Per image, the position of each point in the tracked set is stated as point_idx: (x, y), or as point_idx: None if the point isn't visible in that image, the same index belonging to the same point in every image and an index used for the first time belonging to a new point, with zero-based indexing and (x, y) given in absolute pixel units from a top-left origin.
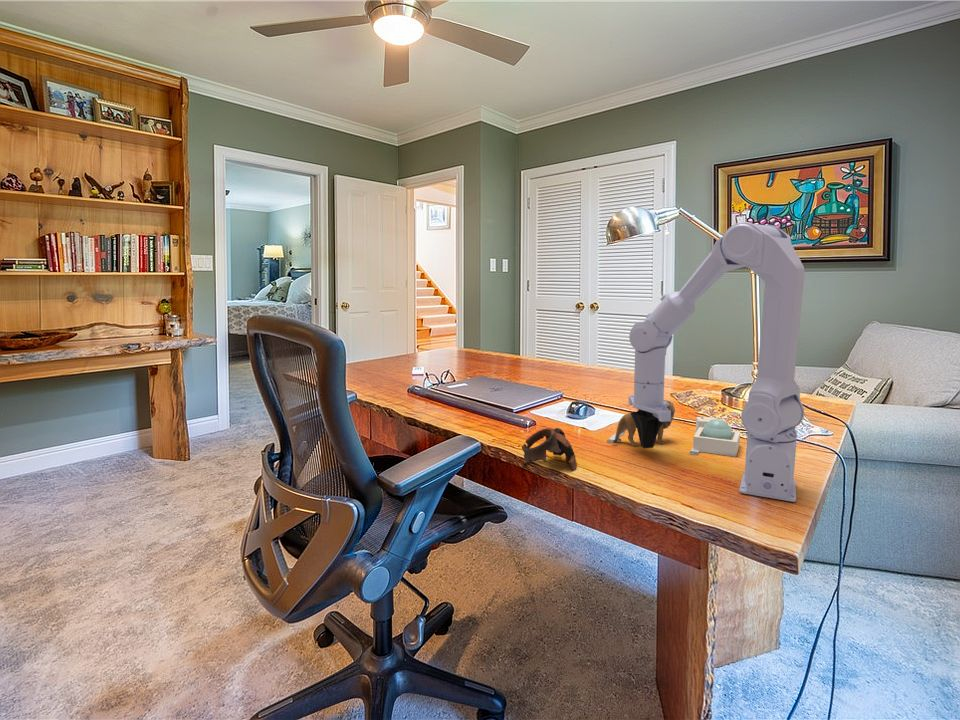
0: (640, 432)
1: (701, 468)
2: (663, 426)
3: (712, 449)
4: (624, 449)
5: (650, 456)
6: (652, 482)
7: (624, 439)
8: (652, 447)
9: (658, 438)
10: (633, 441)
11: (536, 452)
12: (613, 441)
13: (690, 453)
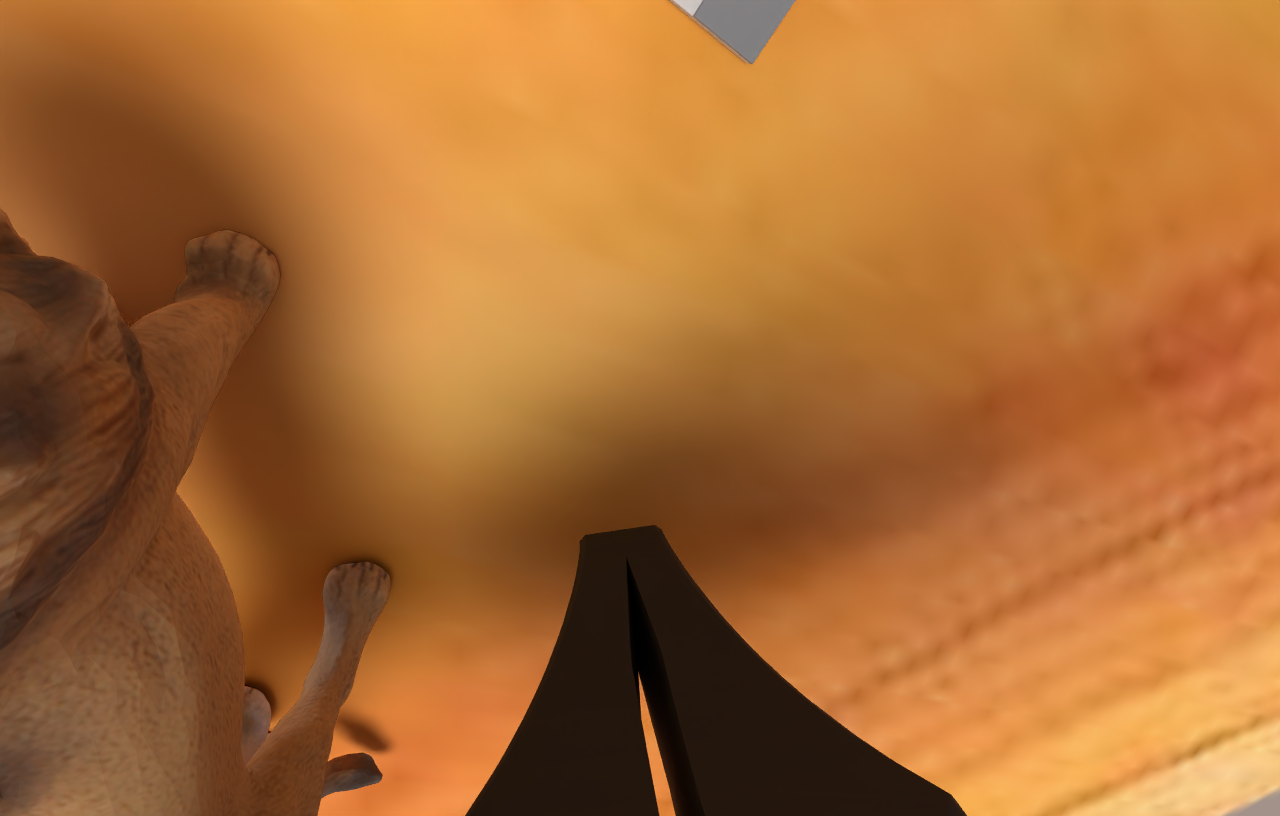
0: (673, 801)
1: (1206, 160)
2: (151, 379)
3: None
4: (495, 683)
5: (730, 527)
6: (1232, 641)
7: None
8: (663, 535)
9: (239, 351)
10: (355, 634)
11: None
12: (364, 784)
13: (757, 52)
